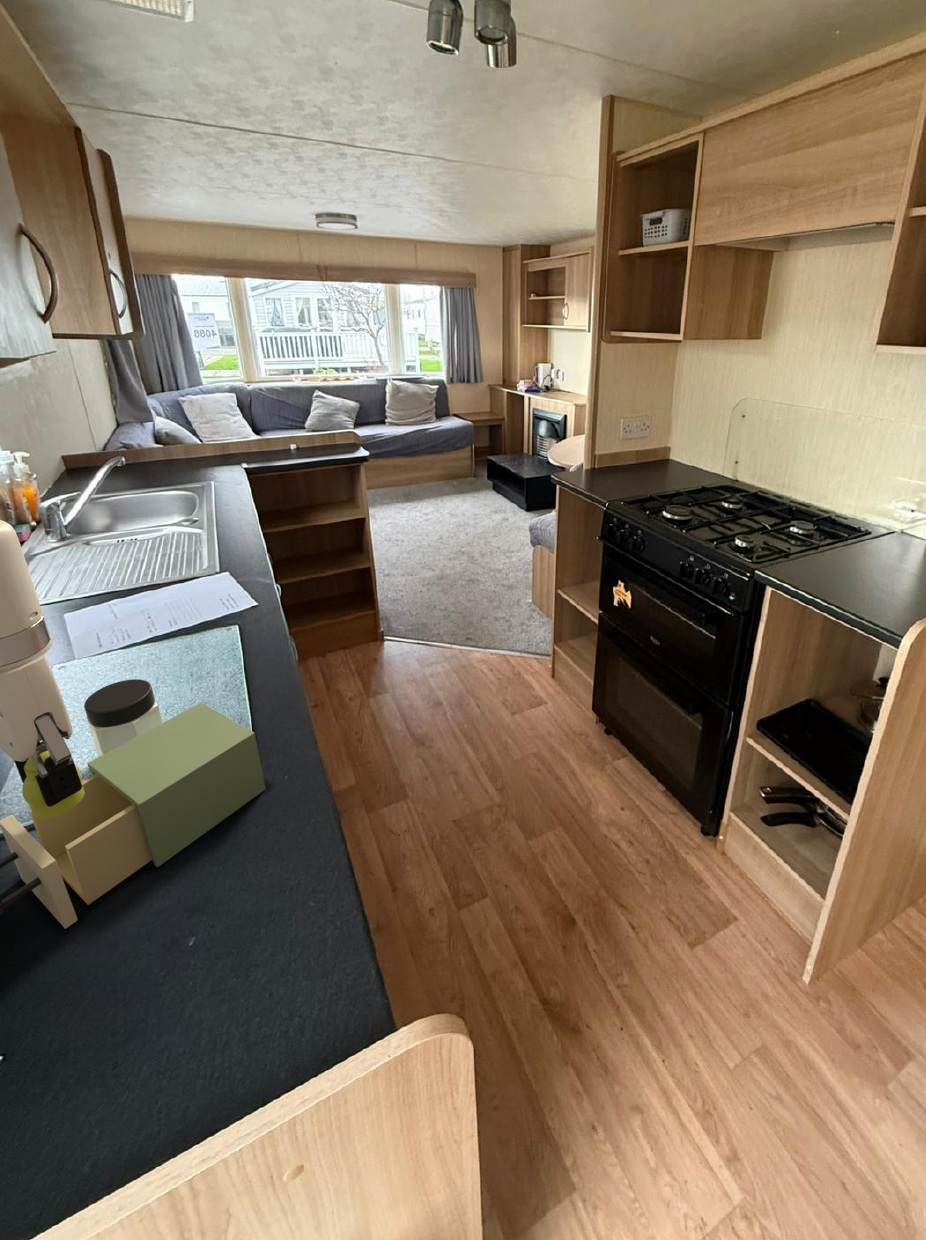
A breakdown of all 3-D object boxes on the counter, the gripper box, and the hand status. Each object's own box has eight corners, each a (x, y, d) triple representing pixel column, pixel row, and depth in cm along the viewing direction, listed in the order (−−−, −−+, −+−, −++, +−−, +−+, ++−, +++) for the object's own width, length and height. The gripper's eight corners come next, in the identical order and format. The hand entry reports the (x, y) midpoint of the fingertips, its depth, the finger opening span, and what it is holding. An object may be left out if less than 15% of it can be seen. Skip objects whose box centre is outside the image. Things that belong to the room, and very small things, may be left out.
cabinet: (158, 872, 69) (139, 804, 65) (107, 827, 75) (86, 763, 71) (266, 794, 81) (254, 732, 77) (214, 760, 87) (201, 702, 83)
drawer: (9, 969, 58) (-19, 906, 55) (-33, 912, 63) (-60, 852, 60) (190, 839, 72) (176, 784, 69) (143, 802, 78) (128, 750, 75)
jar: (176, 737, 92) (160, 673, 87) (164, 773, 84) (146, 705, 80) (111, 750, 89) (92, 684, 85) (93, 787, 82) (70, 718, 77)
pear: (22, 807, 63) (0, 752, 60) (74, 779, 67) (56, 725, 64) (42, 827, 61) (20, 770, 58) (95, 796, 65) (76, 741, 62)
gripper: (-80, 636, 58) (-20, 778, 64) (-16, 688, 50) (46, 845, 56) (12, 607, 64) (58, 739, 70) (83, 649, 56) (129, 795, 62)
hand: (52, 785), depth 63 cm, fingers closed on pear, 5 cm apart
